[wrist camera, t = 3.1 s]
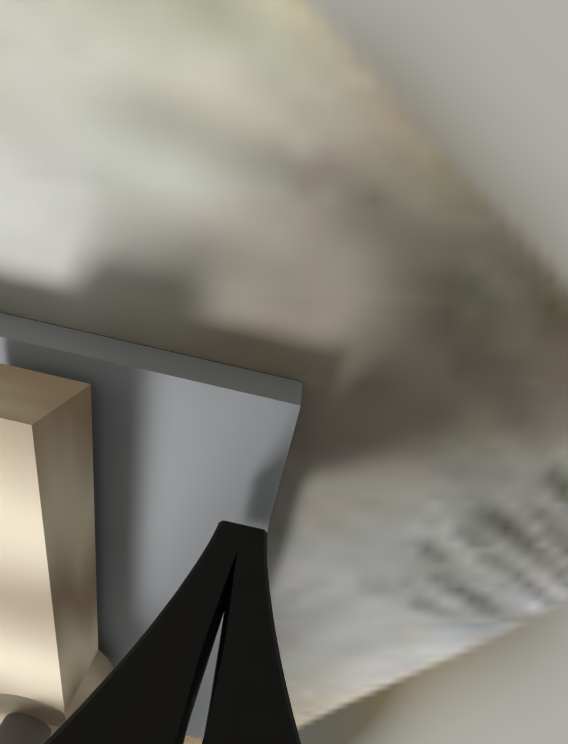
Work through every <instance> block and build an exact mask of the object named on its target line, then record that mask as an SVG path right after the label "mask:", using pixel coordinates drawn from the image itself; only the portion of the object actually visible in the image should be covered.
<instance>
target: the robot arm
mask: <svg viewBox="0 0 568 744" xmlns="http://www.w3.org/2000/svg"><path fill="white" fill-rule="evenodd" d="M223 614H224V616H223ZM222 617H223V622H222V629H221V635H220V641H219V648H218V654H217V660H216V666H215V673H214V679H213V685H212V692H211V698H210V704H209V710H208V716H207V722H206V727H205V732H204V738H203V742H202V744H301V742H300V739H299V735H298V731H297V727H296V723H295V719H294V716H293V712H292V708H291V703H290V699H289V695H288V691H287V687H286V682H285V678H284V673H283V668H282V663H281V659H280V653H279V648H278V643H277V637H276V632H275V626H274V620H273V613H272V605H271V598H270V590H269V581H268V569H267V532H266V531H265V530H264V529H260V528H255V527H251V526H247V525H242V524H238V523H233V522H229V521H224V520H223V521H221V522H219V523H218V526H217V528H216V530H215V532H214V534H213V536H212V538H211V539H210V541H209V543H208V545H207V546H206V548H205V550H204V551H203V553H202V555H201V556H200V558H199V559H198V561H197V562H196V564H195V565H194V567H193V568H192V570H191V571H190V573H189V574H188V576H187V577H186V579H185V580H184V581H183V583H182V584H181V586H180V587H179V589H178V590H177V591H176V593H175V594H174V596H173V597H172V598H171V599H170V601H169V602H168V603H167V605H166V606H165V607H164V609H163V610H162V611H161V612H160V614H159V615H158V616H157V618H156V619H155V620H154V622H153V623H152V624H151V625H150V627H149V628H148V629H147V630H146V632H145V633H144V634H143V635H142V636H141V638H140V639H139V640H138V641H137V643H136V644H135V645H134V646H133V647H132V648H131V650H130V651H129V652H128V653H127V654H126V655H125V657H124V658H123V659H122V660H121V661H120V662H119V664H118V665H117V666H116V667H115V668H114V669H113V670H112V672H111V673H110V674H109V675H108V676H107V677H106V678H105V679H104V680H103V681H102V683H101V684H100V685H99V686H98V687H97V688H96V689H95V690H94V691H93V692H92V693H91V695H90V696H89V697H88V698H87V699H86V700H85V701H84V702H83V703H82V704H81V705H80V707H79V708H78V709H77V710H76V711H75V712H74V713H73V714H72V715H71V716H70V717H69V718H68V719H67V720H66V721H65V722H64V723H63V724H62V725H61V726H60V727H59V728H58V729H57V730H56V731H55V732H54V733H53V734H52V735H51V736H50V737H49V738H48V739H47V740H46V741H45V742H44V743H43V744H183V743H184V739H185V735H186V731H187V728H188V724H189V721H190V717H191V714H192V711H193V707H194V704H195V701H196V698H197V695H198V692H199V689H200V686H201V682H202V679H203V676H204V673H205V670H206V667H207V664H208V661H209V657H210V654H211V651H212V648H213V645H214V642H215V639H216V636H217V632H218V629H219V626H220V623H221V620H222Z"/></svg>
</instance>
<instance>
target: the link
mask: <svg viewBox="0 0 568 744" xmlns="http://www.w3.org/2000/svg"><path fill="white" fill-rule="evenodd" d="M113 669H114V668H113V666H112V664H111V662H110V661H109V659H108V658H107V657H106V656H105V655H104V654H103V653H102V652H101V651H99V650H98V624H97V588H96V552H95V516H94V480H93V444H92V408H91V384H88V383H84V382H80V381H75V380H71V379H67V378H62V377H58V376H54V375H49V374H45V373H41V372H36V371H32V370H28V369H23V368H19V367H15V366H10V365H6V364H1V363H0V744H43V743H44V742H45V741H46V740H47V739H48V738H49V737H50V736H51V735H52V734H53V733H54V732H55V731H56V730H57V729H58V728H59V727H60V726H61V725H62V724H63V723H64V722H65V721H66V720H67V719H68V718H69V717H70V716H71V715H72V714H73V713H74V712H75V711H76V710H77V709H78V708H79V707H80V705H81V704H82V703H83V702H84V701H85V700H86V699H87V698H88V697H89V696H90V695H91V693H92V692H93V691H94V690H95V689H96V688H97V687H98V686H99V685H100V684H101V683H102V681H103V680H104V679H105V678H106V677H107V676H108V675H109V674H110V673H111V672H112V670H113Z"/></svg>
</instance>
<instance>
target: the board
mask: <svg viewBox="0 0 568 744" xmlns="http://www.w3.org/2000/svg"><path fill="white" fill-rule="evenodd" d="M0 363H1V364H6V365H10V366H15V367H19V368H23V369H28V370H32V371H36V372H41V373H45V374H49V375H54V376H58V377H62V378H67V379H71V380H75V381H80V382H84V383H88V384H91V408H92V444H93V480H94V516H95V552H96V588H97V624H98V650H99V651H101V652H102V653H103V654H104V655H105V656H106V657H107V658H108V659H109V661H110V662H111V664H112V666H113V668H115V667H116V666H117V665H118V664H119V662H120V661H121V660H122V659H123V658H124V657H125V655H126V654H127V653H128V652H129V651H130V650H131V648H132V647H133V646H134V645H135V644H136V643H137V641H138V640H139V639H140V638H141V636H142V635H143V634H144V633H145V632H146V630H147V629H148V628H149V627H150V625H151V624H152V623H153V622H154V620H155V619H156V618H157V616H158V615H159V614H160V612H161V611H162V610H163V609H164V607H165V606H166V605H167V603H168V602H169V601H170V599H171V598H172V597H173V596H174V594H175V593H176V591H177V590H178V589H179V587H180V586H181V584H182V583H183V581H184V580H185V579H186V577H187V576H188V574H189V573H190V571H191V570H192V568H193V567H194V565H195V564H196V562H197V561H198V559H199V558H200V556H201V555H202V553H203V551H204V550H205V548H206V546H207V545H208V543H209V541H210V539H211V538H212V536H213V534H214V532H215V530H216V528H217V526H218V523H219V522H221V521H223V520H224V521H229V522H233V523H238V524H242V525H247V526H251V527H255V528H260V529H264V530H265V531H266V532H267V531H268V527H269V523H270V520H271V516H272V512H273V508H274V505H275V501H276V497H277V493H278V490H279V486H280V482H281V478H282V475H283V471H284V467H285V463H286V459H287V456H288V452H289V448H290V444H291V441H292V437H293V433H294V429H295V426H296V422H297V418H298V414H299V411H300V407H301V398H302V386H303V382H300V381H295V380H291V379H287V378H282V377H278V376H274V375H269V374H265V373H260V372H256V371H252V370H247V369H243V368H239V367H234V366H230V365H226V364H221V363H217V362H213V361H208V360H204V359H200V358H195V357H191V356H187V355H182V354H178V353H174V352H169V351H165V350H161V349H156V348H152V347H148V346H143V345H139V344H135V343H130V342H126V341H121V340H117V339H113V338H108V337H104V336H100V335H95V334H91V333H87V332H82V331H78V330H74V329H69V328H65V327H61V326H56V325H52V324H48V323H43V322H39V321H35V320H30V319H26V318H22V317H17V316H13V315H9V314H4V313H0ZM223 616H224V614H223ZM222 622H223V617H222V620H221V623H220V626H219V629H218V632H217V636H216V639H215V642H214V645H213V648H212V651H211V654H210V657H209V661H208V664H207V667H206V670H205V673H204V676H203V679H202V682H201V686H200V689H199V692H198V695H197V698H196V701H195V704H194V707H193V711H192V714H191V717H190V721H189V724H188V728H187V731H186V735H189V736H193V737H198V738H202V739H203V738H204V732H205V727H206V722H207V716H208V710H209V704H210V698H211V692H212V685H213V679H214V673H215V666H216V660H217V654H218V648H219V641H220V635H221V629H222Z"/></svg>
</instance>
